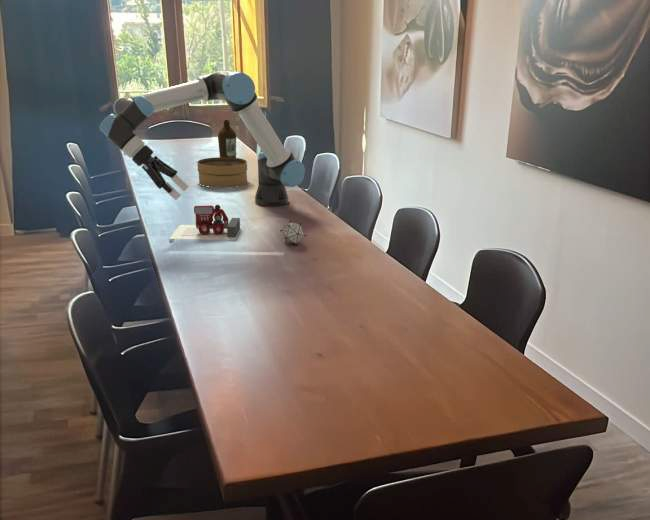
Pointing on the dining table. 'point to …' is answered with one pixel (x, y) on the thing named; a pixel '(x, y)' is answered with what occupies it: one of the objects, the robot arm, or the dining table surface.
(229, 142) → the olive oil
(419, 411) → the dining table surface
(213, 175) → the steamer basket
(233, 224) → the grey rectangular block
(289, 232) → the geodesic ball
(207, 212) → the red toy car
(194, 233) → the mat
